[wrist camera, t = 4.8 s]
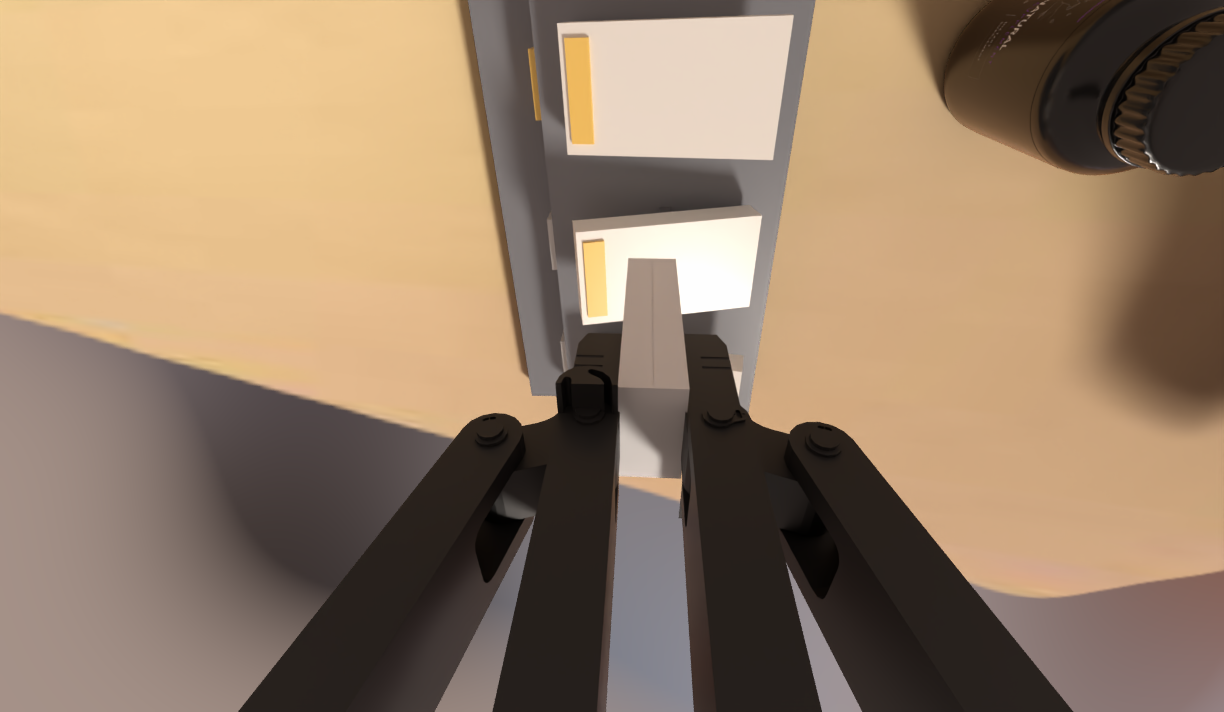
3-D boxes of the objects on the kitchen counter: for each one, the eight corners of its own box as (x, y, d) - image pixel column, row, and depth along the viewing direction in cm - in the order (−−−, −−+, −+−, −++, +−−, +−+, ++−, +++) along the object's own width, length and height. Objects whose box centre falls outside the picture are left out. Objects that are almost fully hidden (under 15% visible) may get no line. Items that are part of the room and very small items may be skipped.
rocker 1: (791, 13, 19) (793, 15, 18) (772, 150, 22) (772, 161, 21) (569, 21, 21) (555, 23, 20) (578, 146, 24) (566, 155, 23)
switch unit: (808, -56, 23) (847, -70, 19) (743, 384, 38) (756, 435, 34) (470, -40, 24) (430, -49, 20) (535, 383, 39) (521, 432, 35)
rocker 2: (749, 204, 25) (763, 216, 24) (738, 292, 28) (750, 307, 27) (572, 220, 24) (575, 233, 23) (579, 310, 27) (583, 326, 26)
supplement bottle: (977, -31, 24) (1215, -54, 14) (1122, -17, 24) (1463, -31, 14) (914, 127, 27) (1065, 197, 18) (1039, 138, 27) (1258, 214, 18)
